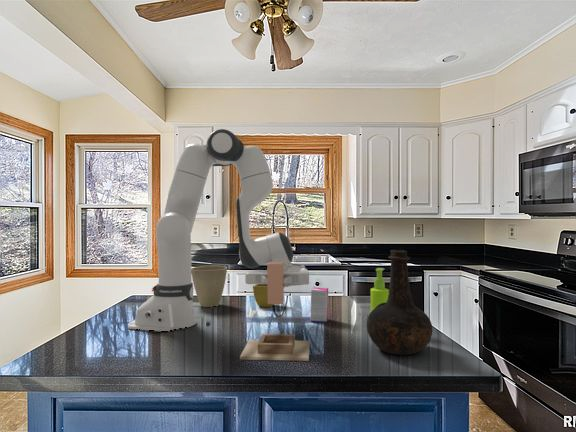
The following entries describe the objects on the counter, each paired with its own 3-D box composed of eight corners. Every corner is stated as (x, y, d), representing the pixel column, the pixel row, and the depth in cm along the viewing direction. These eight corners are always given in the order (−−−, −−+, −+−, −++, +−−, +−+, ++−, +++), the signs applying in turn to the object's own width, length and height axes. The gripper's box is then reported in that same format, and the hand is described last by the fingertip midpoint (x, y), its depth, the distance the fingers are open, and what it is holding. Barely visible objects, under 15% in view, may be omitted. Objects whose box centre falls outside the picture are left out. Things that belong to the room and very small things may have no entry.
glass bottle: (400, 336, 124) (400, 246, 124) (447, 354, 108) (447, 250, 108) (353, 345, 116) (353, 248, 116) (396, 366, 100) (396, 254, 100)
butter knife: (258, 310, 159) (251, 310, 159) (248, 327, 135) (240, 326, 135) (258, 311, 159) (251, 311, 159) (248, 328, 135) (240, 328, 135)
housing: (240, 359, 105) (239, 346, 105) (249, 342, 119) (249, 331, 119) (308, 360, 104) (308, 348, 104) (309, 343, 117) (309, 332, 117)
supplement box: (326, 323, 140) (326, 290, 140) (310, 322, 141) (310, 289, 141) (328, 318, 145) (328, 287, 145) (312, 318, 147) (312, 287, 147)
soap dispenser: (390, 326, 135) (390, 267, 135) (386, 332, 128) (386, 270, 128) (373, 324, 137) (373, 266, 137) (368, 330, 131) (368, 269, 131)
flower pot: (252, 307, 164) (252, 285, 164) (261, 303, 172) (261, 282, 172) (271, 309, 161) (271, 286, 161) (280, 304, 169) (280, 283, 169)
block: (267, 304, 119) (267, 263, 119) (269, 300, 123) (269, 262, 123) (282, 304, 119) (282, 263, 119) (283, 300, 123) (283, 262, 123)
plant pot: (198, 301, 176) (198, 265, 176) (231, 302, 174) (231, 265, 174) (185, 309, 161) (185, 270, 161) (221, 310, 159) (220, 270, 159)
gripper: (248, 265, 135) (241, 270, 121) (309, 265, 133) (308, 271, 119) (248, 283, 135) (241, 291, 121) (309, 284, 133) (309, 292, 120)
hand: (275, 281), depth 120 cm, fingers closed on block, 4 cm apart
